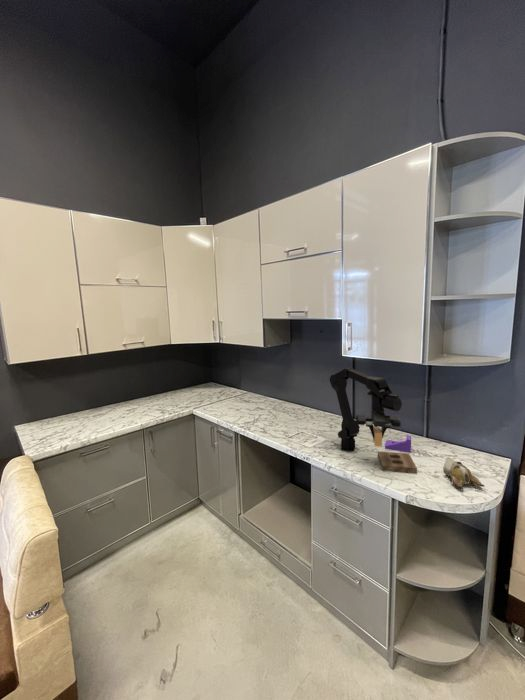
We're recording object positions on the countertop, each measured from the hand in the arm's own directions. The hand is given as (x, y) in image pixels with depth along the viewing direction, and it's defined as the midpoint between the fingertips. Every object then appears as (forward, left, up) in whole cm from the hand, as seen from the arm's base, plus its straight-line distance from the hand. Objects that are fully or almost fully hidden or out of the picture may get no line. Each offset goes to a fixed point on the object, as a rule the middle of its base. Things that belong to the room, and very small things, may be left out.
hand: (377, 438), depth 141 cm
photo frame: (-35, +22, -12) cm, 43 cm away
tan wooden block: (0, 0, -2) cm, 2 cm away
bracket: (+13, +18, -12) cm, 25 cm away
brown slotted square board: (+8, 0, -12) cm, 15 cm away
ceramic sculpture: (+30, -11, -12) cm, 35 cm away
